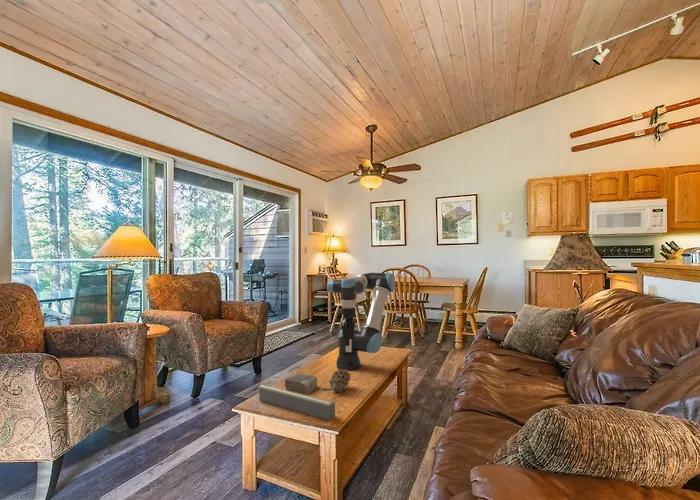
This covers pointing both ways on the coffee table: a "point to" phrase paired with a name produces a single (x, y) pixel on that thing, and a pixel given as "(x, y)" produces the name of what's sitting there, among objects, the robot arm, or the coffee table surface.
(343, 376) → the pine cone
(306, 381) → the geological specimen
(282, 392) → the end rail
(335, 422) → the coffee table surface
